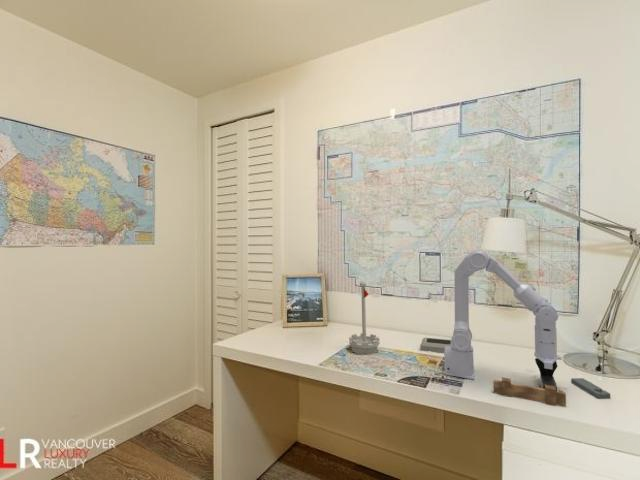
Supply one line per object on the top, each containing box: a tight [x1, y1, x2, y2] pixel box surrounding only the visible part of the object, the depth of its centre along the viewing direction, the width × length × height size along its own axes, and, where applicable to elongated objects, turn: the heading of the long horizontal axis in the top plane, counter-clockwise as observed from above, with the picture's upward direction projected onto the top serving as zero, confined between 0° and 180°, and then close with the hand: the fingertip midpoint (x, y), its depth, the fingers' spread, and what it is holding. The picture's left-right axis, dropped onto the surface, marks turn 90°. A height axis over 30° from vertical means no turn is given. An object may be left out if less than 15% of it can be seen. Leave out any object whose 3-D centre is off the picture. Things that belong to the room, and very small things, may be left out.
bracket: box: [570, 377, 611, 400], centre depth 100 cm, size 4×10×2 cm, turn 179°
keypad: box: [419, 337, 452, 354], centre depth 139 cm, size 10×4×15 cm
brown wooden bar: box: [492, 377, 567, 407], centre depth 97 cm, size 18×5×4 cm, turn 60°
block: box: [539, 373, 558, 391], centre depth 98 cm, size 3×8×4 cm, turn 150°
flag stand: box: [348, 280, 380, 355], centre depth 140 cm, size 13×13×30 cm
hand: (546, 383), depth 103 cm, fingers closed
